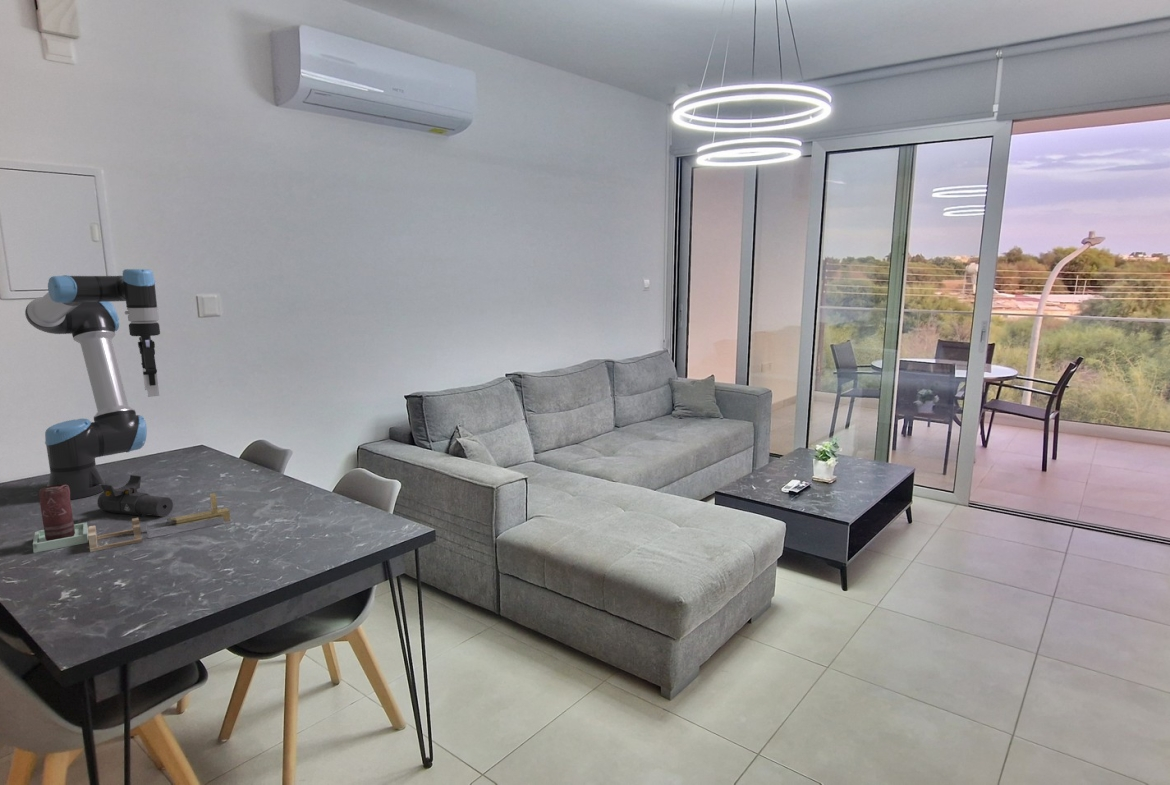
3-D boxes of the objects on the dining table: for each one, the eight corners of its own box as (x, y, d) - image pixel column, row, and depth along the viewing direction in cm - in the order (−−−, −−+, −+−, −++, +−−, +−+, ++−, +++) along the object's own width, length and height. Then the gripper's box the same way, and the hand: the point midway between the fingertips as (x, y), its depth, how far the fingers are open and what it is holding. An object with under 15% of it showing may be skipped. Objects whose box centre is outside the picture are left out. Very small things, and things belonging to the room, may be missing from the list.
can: (81, 535, 174) (74, 485, 171) (54, 544, 168) (46, 492, 166) (68, 531, 176) (61, 482, 174) (40, 540, 171) (33, 489, 168)
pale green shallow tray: (36, 539, 174) (35, 531, 173) (88, 529, 180) (87, 522, 180) (33, 552, 165) (32, 544, 165) (87, 542, 172) (86, 534, 171)
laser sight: (151, 522, 186) (147, 489, 184) (89, 515, 192) (85, 483, 190) (179, 511, 195) (176, 479, 194) (120, 504, 201) (116, 473, 199)
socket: (90, 539, 173) (88, 525, 173) (139, 530, 180) (138, 516, 179) (90, 552, 166) (88, 537, 165) (142, 541, 172) (140, 527, 172)
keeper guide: (146, 531, 179) (146, 524, 179) (220, 517, 190) (219, 510, 190) (148, 538, 175) (147, 531, 174) (223, 523, 185) (223, 516, 185)
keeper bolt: (168, 528, 181) (164, 501, 180) (228, 517, 190) (225, 491, 188) (169, 532, 179) (165, 504, 177) (230, 520, 187) (227, 493, 186)
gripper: (126, 320, 200) (134, 388, 203) (130, 325, 180) (139, 400, 184) (155, 319, 204) (163, 386, 208) (162, 324, 184) (170, 397, 188)
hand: (151, 393), depth 196 cm, fingers open, 13 cm apart
